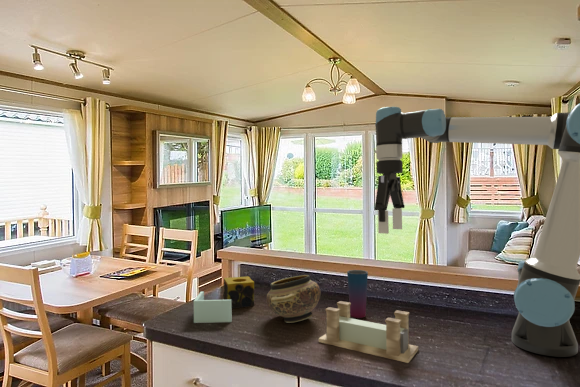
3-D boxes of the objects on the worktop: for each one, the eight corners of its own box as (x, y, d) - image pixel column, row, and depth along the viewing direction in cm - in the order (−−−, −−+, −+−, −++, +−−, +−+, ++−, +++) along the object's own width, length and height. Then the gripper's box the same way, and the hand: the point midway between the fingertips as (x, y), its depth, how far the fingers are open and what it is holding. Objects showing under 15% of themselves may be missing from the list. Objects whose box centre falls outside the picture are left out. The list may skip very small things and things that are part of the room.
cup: (368, 320, 125) (367, 274, 125) (347, 319, 126) (346, 273, 126) (368, 313, 131) (367, 270, 131) (348, 312, 133) (347, 269, 133)
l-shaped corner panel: (231, 323, 124) (231, 300, 124) (193, 324, 123) (193, 301, 123) (235, 311, 136) (235, 290, 136) (201, 312, 135) (200, 291, 135)
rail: (408, 348, 100) (407, 329, 100) (403, 353, 97) (403, 333, 97) (332, 331, 112) (332, 314, 112) (326, 336, 109) (326, 318, 109)
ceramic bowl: (303, 338, 110) (302, 286, 110) (250, 329, 118) (250, 280, 118) (332, 313, 132) (331, 270, 132) (286, 307, 140) (285, 266, 140)
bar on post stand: (418, 350, 101) (418, 313, 101) (408, 363, 94) (407, 323, 93) (333, 331, 115) (333, 299, 115) (318, 342, 107) (318, 307, 107)
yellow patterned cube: (223, 304, 145) (222, 277, 145) (249, 301, 148) (249, 275, 148) (226, 312, 135) (226, 283, 135) (254, 309, 138) (254, 281, 138)
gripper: (389, 163, 127) (391, 227, 127) (362, 158, 106) (363, 234, 106) (412, 161, 123) (414, 227, 123) (388, 156, 102) (390, 235, 102)
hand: (390, 231), depth 115 cm, fingers open, 13 cm apart
